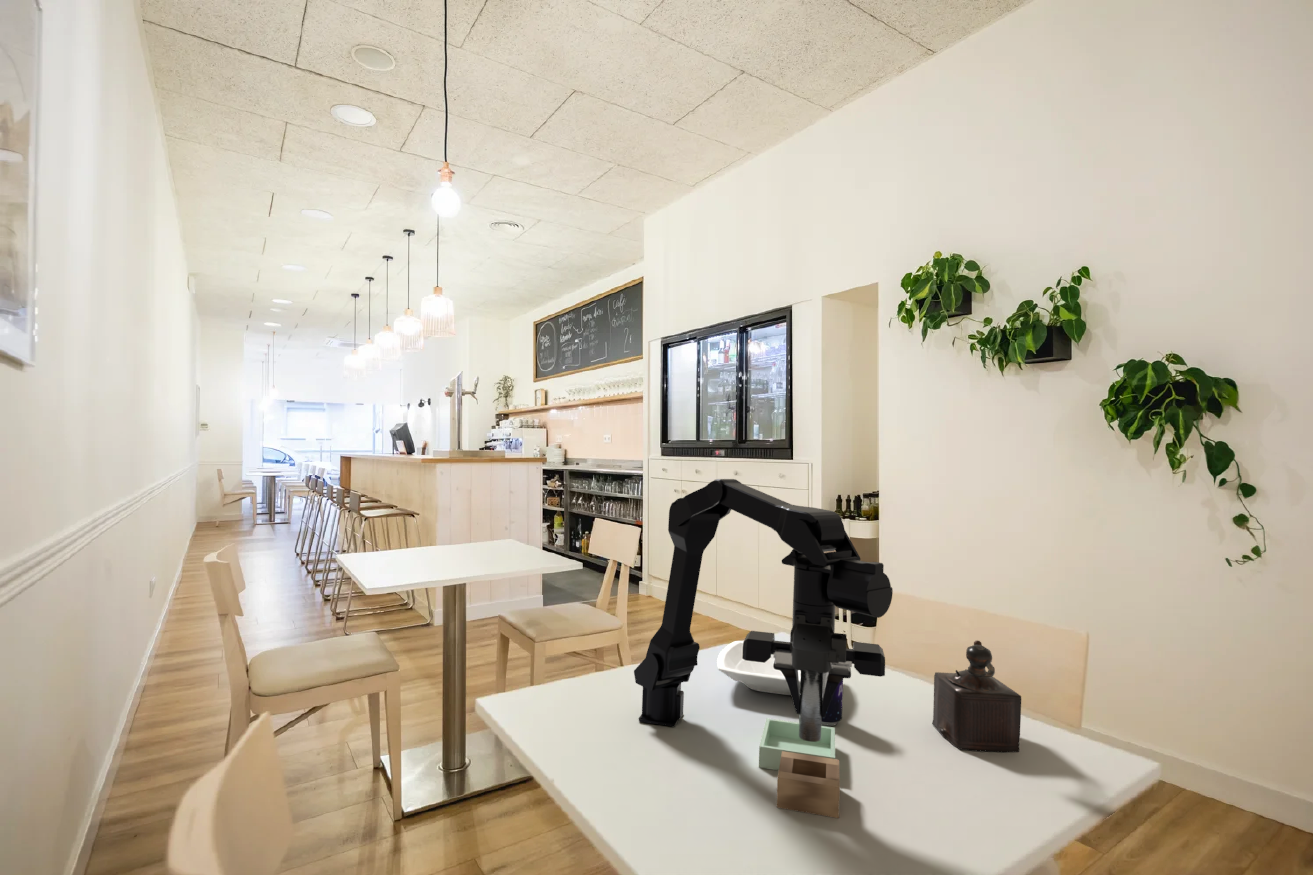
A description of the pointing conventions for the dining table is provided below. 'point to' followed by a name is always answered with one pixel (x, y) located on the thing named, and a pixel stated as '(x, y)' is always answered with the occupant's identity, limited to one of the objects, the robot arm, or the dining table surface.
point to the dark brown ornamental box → (977, 706)
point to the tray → (791, 743)
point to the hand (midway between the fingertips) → (810, 714)
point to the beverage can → (833, 705)
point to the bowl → (752, 671)
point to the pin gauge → (810, 705)
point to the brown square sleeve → (808, 784)
